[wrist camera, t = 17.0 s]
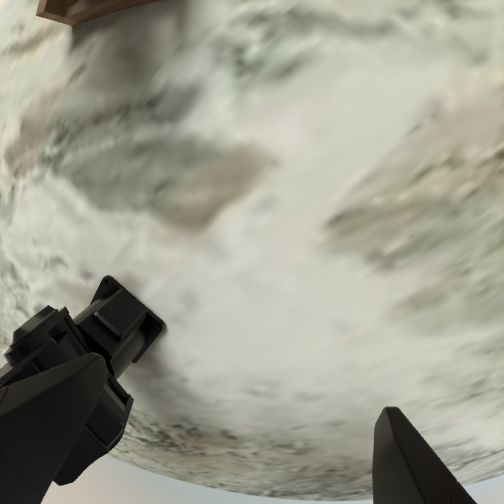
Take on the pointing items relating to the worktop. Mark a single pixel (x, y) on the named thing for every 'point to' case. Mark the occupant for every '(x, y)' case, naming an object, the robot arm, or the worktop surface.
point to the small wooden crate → (82, 9)
